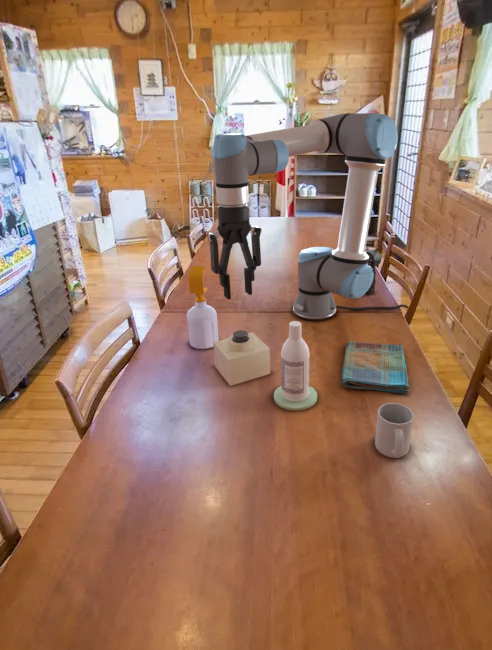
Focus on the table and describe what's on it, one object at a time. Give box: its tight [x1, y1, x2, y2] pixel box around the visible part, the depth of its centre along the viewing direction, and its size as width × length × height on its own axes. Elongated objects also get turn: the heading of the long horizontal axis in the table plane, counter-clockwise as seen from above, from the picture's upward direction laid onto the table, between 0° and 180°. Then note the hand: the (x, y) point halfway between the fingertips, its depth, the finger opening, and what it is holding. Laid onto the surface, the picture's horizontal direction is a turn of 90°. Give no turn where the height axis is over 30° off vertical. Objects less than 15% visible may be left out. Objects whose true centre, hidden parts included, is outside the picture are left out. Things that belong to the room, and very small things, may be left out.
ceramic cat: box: [365, 246, 382, 295], centre depth 176 cm, size 20×6×20 cm, turn 46°
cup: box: [374, 402, 415, 459], centre depth 95 cm, size 7×10×9 cm
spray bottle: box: [186, 265, 220, 350], centre depth 136 cm, size 9×9×25 cm
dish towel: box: [341, 340, 410, 395], centre depth 126 cm, size 17×23×2 cm
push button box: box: [213, 331, 271, 387], centre depth 125 cm, size 12×11×10 cm
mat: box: [273, 385, 318, 412], centre depth 115 cm, size 11×11×1 cm
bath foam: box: [280, 320, 311, 402], centre depth 110 cm, size 7×7×20 cm
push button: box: [232, 329, 249, 343], centre depth 122 cm, size 4×4×2 cm
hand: (238, 295), depth 117 cm, fingers open, 5 cm apart
